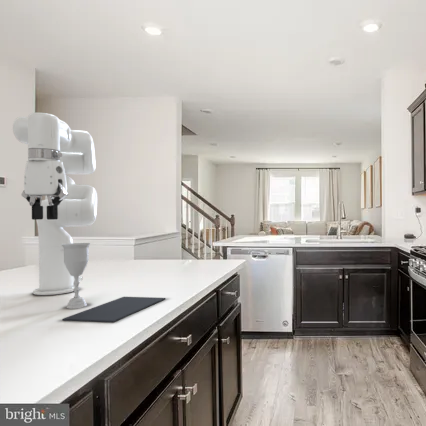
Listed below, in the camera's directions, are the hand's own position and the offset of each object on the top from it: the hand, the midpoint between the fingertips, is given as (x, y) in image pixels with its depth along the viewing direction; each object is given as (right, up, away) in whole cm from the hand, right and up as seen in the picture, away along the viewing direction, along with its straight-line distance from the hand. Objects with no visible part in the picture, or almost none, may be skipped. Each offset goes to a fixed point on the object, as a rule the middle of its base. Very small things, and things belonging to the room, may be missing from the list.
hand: (44, 218), depth 108 cm
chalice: (+10, -26, -1) cm, 27 cm away
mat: (+24, -25, -4) cm, 35 cm away
